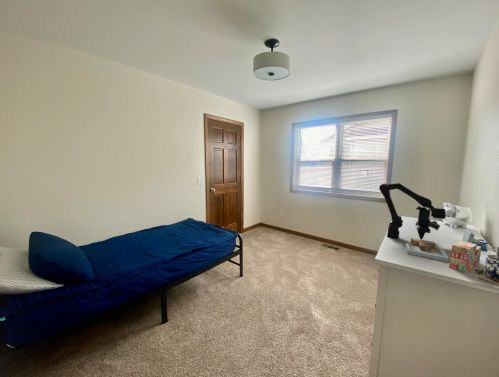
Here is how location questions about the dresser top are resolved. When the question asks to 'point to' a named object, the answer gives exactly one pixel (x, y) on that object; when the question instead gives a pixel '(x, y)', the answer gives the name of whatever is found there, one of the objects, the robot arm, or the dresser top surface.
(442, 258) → the dock
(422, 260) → the dresser top surface
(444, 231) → the dresser top surface
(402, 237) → the dresser top surface
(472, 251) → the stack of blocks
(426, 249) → the t block
